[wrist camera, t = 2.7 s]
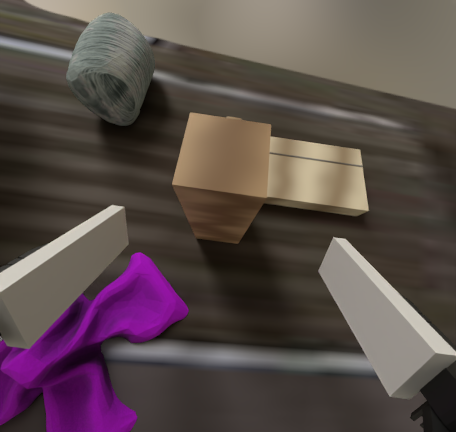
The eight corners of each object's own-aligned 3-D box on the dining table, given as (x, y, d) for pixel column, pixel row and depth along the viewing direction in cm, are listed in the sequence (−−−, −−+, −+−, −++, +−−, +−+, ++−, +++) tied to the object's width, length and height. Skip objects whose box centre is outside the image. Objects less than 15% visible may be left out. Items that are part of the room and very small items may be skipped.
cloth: (201, 264, 22) (196, 258, 16) (142, 489, 15) (97, 617, 10) (17, 221, 22) (-55, 199, 16) (-115, 425, 16) (-311, 511, 10)
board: (188, 192, 24) (186, 184, 22) (200, 136, 27) (199, 125, 25) (356, 216, 24) (369, 210, 22) (350, 158, 27) (360, 149, 25)
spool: (146, 126, 23) (65, 14, 15) (97, 142, 26) (13, 58, 19) (183, 81, 30) (141, -10, 23) (141, 98, 34) (92, 26, 27)
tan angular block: (196, 238, 22) (171, 184, 10) (212, 148, 26) (210, 33, 14) (238, 243, 22) (266, 197, 10) (247, 153, 26) (275, 43, 14)
